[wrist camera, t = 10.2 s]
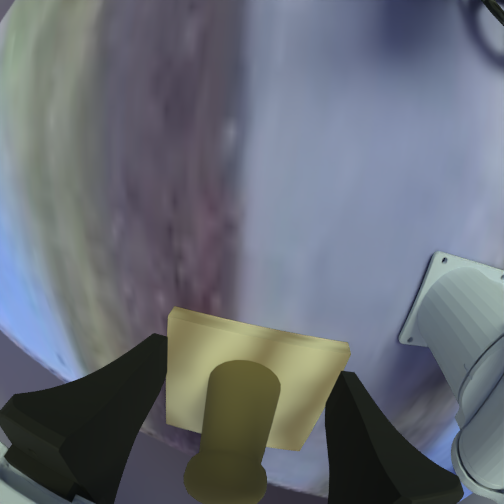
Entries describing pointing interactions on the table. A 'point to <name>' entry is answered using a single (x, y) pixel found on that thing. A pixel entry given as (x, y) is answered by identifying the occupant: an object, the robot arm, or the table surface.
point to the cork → (234, 435)
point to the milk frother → (495, 10)
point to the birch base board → (256, 350)
